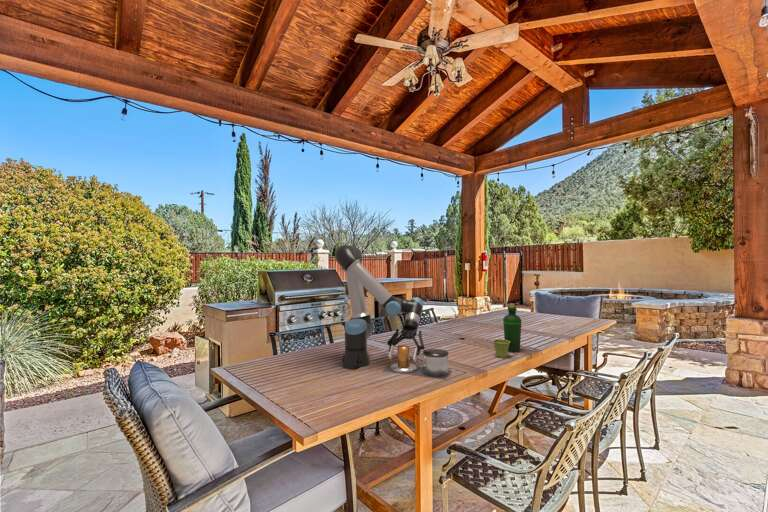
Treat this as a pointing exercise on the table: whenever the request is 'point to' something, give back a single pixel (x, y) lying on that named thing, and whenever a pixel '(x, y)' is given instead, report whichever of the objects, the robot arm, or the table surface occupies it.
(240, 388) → the table surface
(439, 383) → the table surface
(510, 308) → the bottle
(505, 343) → the plant pot
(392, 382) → the table surface
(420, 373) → the stove mat
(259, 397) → the table surface
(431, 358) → the cylinder
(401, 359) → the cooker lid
